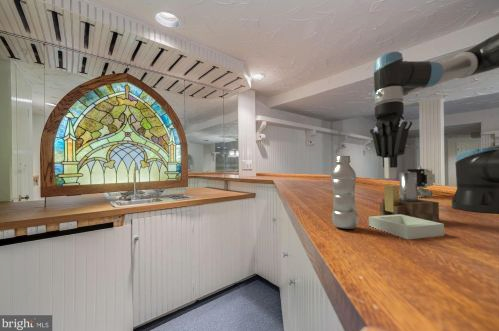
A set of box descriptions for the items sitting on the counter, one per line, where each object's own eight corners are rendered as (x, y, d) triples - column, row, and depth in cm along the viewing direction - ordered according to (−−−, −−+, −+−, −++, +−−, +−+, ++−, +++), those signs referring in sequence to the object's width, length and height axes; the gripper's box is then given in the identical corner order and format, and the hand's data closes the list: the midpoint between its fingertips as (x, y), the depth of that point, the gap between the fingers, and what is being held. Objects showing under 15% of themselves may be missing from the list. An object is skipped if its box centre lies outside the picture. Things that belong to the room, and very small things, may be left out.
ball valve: (426, 199, 103) (425, 165, 103) (406, 198, 110) (405, 166, 110) (437, 196, 113) (436, 165, 113) (418, 195, 120) (417, 166, 120)
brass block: (391, 210, 64) (390, 185, 64) (399, 211, 61) (399, 185, 61) (384, 210, 64) (384, 185, 64) (393, 212, 61) (392, 186, 61)
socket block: (406, 215, 70) (405, 197, 70) (439, 222, 60) (438, 202, 60) (375, 217, 67) (374, 199, 67) (404, 225, 57) (403, 204, 57)
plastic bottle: (348, 233, 51) (345, 155, 51) (326, 226, 57) (325, 156, 57) (363, 229, 54) (361, 155, 54) (341, 223, 60) (340, 157, 60)
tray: (400, 223, 59) (400, 214, 59) (444, 235, 48) (443, 223, 48) (369, 226, 56) (368, 216, 56) (407, 239, 46) (407, 227, 46)
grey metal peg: (408, 217, 66) (406, 172, 67) (422, 220, 62) (420, 172, 62) (397, 218, 65) (395, 172, 66) (410, 221, 61) (408, 172, 61)
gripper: (362, 109, 69) (364, 177, 68) (398, 95, 56) (400, 179, 55) (380, 111, 70) (382, 177, 70) (419, 97, 58) (421, 178, 57)
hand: (390, 178), depth 63 cm, fingers closed
